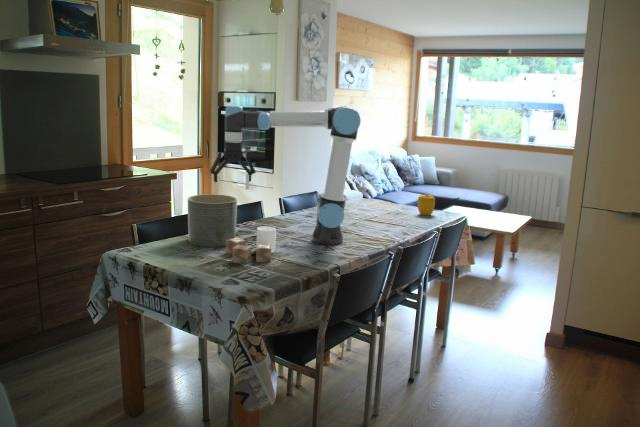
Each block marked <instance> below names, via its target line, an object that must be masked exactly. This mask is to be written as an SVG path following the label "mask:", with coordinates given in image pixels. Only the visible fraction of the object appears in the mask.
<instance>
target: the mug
mask: <svg viewBox="0 0 640 427" xmlns="http://www.w3.org/2000/svg"><path fill="white" fill-rule="evenodd" d="M276 241H277V228H275V227H273V226H266V225H265V226H258V227H257V228H256V249H257V245H271V254H273V253H274V252H275V251H276ZM256 249H255V250H256Z"/></svg>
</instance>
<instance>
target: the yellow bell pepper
mask: <svg viewBox="0 0 640 427" xmlns="http://www.w3.org/2000/svg"><path fill="white" fill-rule="evenodd" d="M435 206H436V197H434V195H431V194H420V195H419V196H418V197H417V209H418V212H419V214H420V215H422V216H424V215H425V216H426V217H427V216H431V215H433V214H432V213H433V212H434V209H435Z"/></svg>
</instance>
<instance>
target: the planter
mask: <svg viewBox="0 0 640 427" xmlns="http://www.w3.org/2000/svg"><path fill="white" fill-rule="evenodd" d="M237 213H238V199H237V197H235V196H233V195H227V194H215V193H214V194H212V193H211V194H210V193H209V194H196V195H191V196H188V198H187V226H188V227H187V228H188V229H187V231H188V243H189V244H191V245H193V246H197V247H202V248H221V247H226V240H229V239H233V238H237V237H236V233H237V216H238V214H237Z"/></svg>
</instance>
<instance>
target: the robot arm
mask: <svg viewBox="0 0 640 427" xmlns="http://www.w3.org/2000/svg"><path fill="white" fill-rule="evenodd" d="M243 108H244V107H243V106H241V105H240V106H237V105H227V106H226V107H225V113H224V114H225V115H224V129H225V130H224V152H220V151H219V152H217V153H216V158H215V160H214V162H213V164H212V166H210V167H211V168H210V170H209V173H211V174H212V175H213V182H214V183H215V189H216V190H218V191H219V189H220V175H219V173H220V172H221V171H222V170H223V168H224V167H225V166H226V165H227V164H228V163H230V164H231V163H234V164H239V165H241V167H242V168H243V170H245V172H246V174H245V189H246V190H250V182H251V181H252V175H253V174H256V170H255V167H254V165H253V163H252V160H251V159H250V154H249V152H246V151H245V152H243V143H242V141H243V129H248V130H261V131H262V130H263V131H264V130H269V129H270V128H325V129H326V130H330V137H331V138H332V145H331V150H330V151H331V152H330V155H329V156H330V157H329V161H328V162H329V163H328V169H327V176H326V182H325V185H324V186H325V188H324V192H322V193H319V194H318V196H317V199H316V201H317V205H316V221H315V222H316V225H315V226H314V230H313V233H312V235H311V236H312V237H311V241H312V242H314V243H316V244H321V245H340V244H342V243H343V242H344V235H343V231H342V228H341V224H343V221H344V218H345V207H346V201H347V198H346V197H345V195H344V193H345V186H346V181H347V176H348V170H349V169H348V168H349V163H350V157H351V151H352V147H353V146H352V145H353V143H354V142H355V141H357V137H358V136H357V135H358V133H359V132H358V131H359V128H360V126H361V120H362V119H361V116H360V113H359V112H358V110H356V108H354V107H352V106H346V105H345V106H340V107H339V106H338V107H333V108H332V107H330V108H329V107H328V108H326V109H325V110H255V111H246V110H244V109H243ZM223 157H224V159H223V160H222V162H221V163H220V164H219V162H220V161H221V158H223ZM242 157H243V158H245V161H246V163H247V165H246V164H245V163H244V161H243V160H242ZM218 164H219V165H218Z"/></svg>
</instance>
